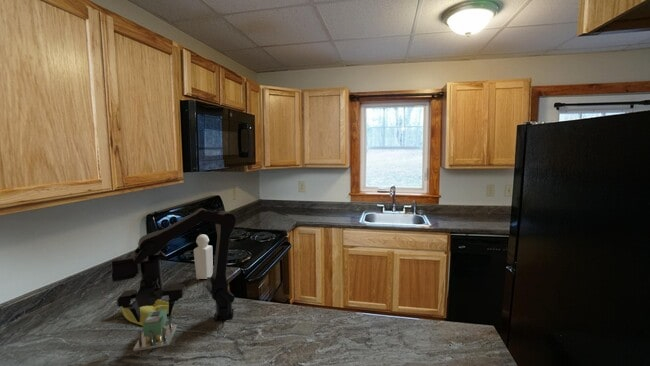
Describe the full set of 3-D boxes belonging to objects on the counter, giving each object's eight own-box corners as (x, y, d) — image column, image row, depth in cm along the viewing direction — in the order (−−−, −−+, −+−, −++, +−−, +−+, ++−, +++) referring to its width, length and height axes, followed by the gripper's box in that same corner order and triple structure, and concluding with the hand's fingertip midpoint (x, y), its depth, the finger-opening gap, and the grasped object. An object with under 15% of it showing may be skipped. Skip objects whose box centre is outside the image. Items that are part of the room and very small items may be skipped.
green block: (150, 323, 100) (149, 309, 100) (167, 320, 102) (166, 306, 101) (143, 336, 93) (142, 321, 92) (161, 333, 94) (160, 319, 94)
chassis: (145, 331, 101) (143, 316, 101) (176, 326, 104) (175, 312, 103) (133, 351, 91) (131, 335, 90) (168, 345, 93) (167, 329, 93)
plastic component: (177, 305, 114) (157, 306, 105) (170, 325, 112) (149, 328, 103) (140, 294, 121) (118, 294, 112) (133, 313, 119) (110, 314, 110)
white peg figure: (207, 280, 142) (204, 236, 140) (195, 279, 143) (192, 236, 141) (214, 275, 148) (212, 232, 146) (202, 274, 149) (200, 232, 147)
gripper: (106, 288, 85) (111, 339, 86) (176, 280, 90) (180, 328, 91) (122, 273, 96) (126, 318, 97) (184, 267, 101) (187, 310, 102)
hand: (154, 319), depth 97 cm, fingers open, 9 cm apart
